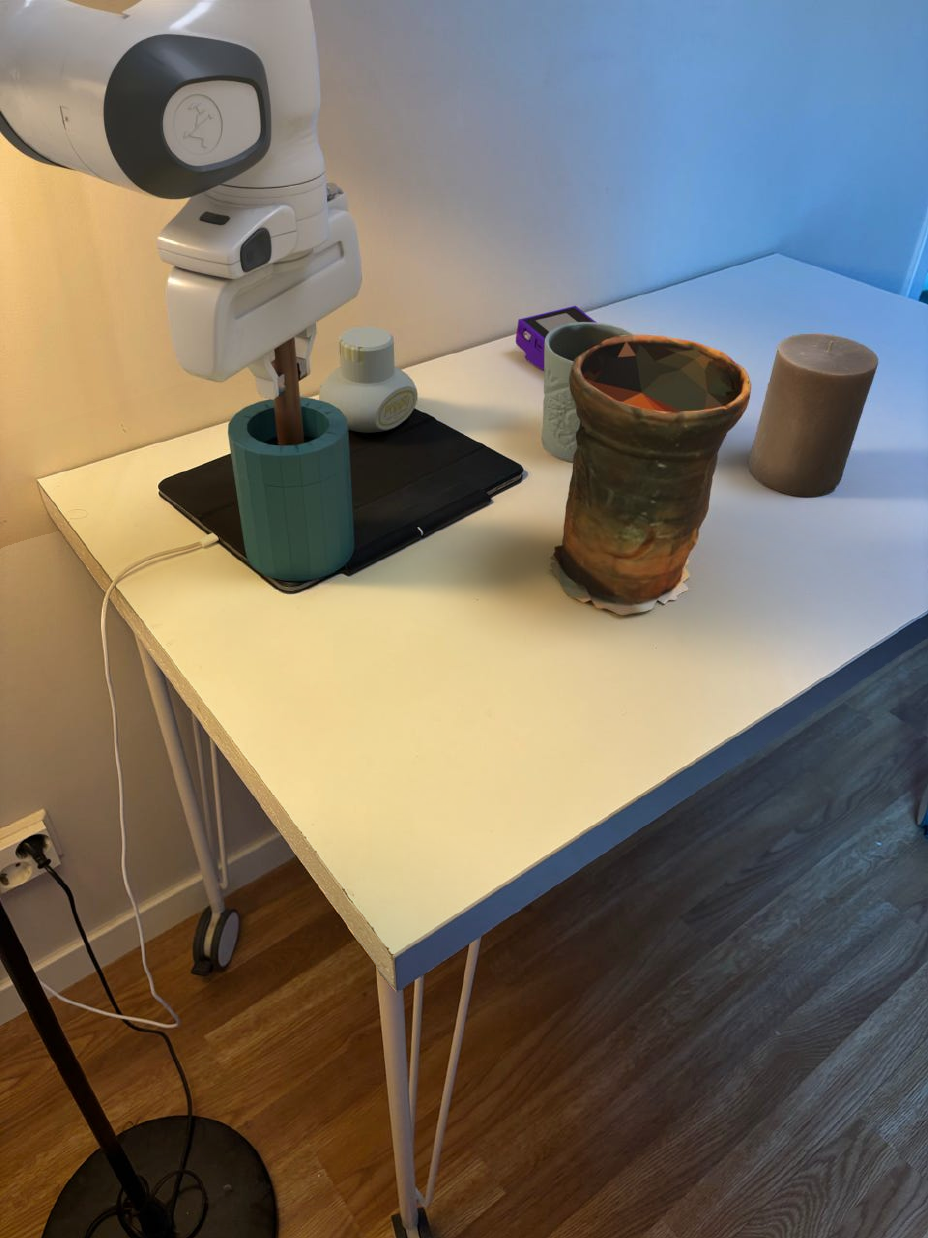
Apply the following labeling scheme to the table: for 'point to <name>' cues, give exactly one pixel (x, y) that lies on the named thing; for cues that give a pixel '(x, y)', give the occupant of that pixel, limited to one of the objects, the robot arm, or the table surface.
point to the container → (293, 491)
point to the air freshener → (369, 382)
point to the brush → (288, 396)
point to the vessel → (643, 466)
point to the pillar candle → (811, 413)
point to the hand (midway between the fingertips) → (284, 386)
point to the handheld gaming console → (544, 331)
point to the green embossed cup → (566, 382)
